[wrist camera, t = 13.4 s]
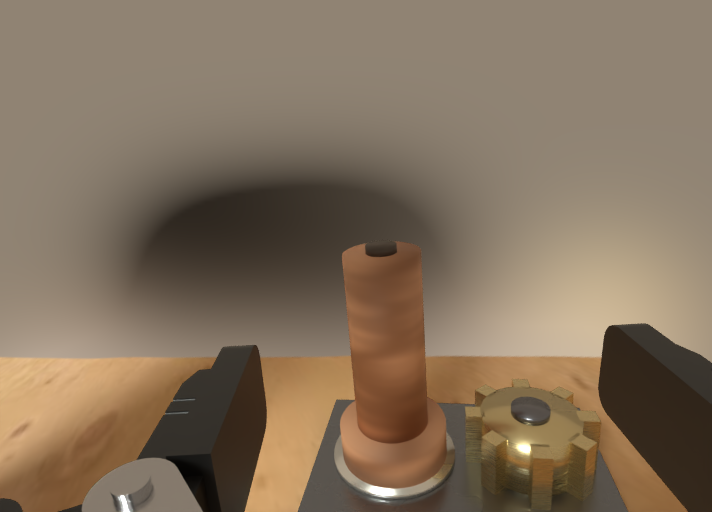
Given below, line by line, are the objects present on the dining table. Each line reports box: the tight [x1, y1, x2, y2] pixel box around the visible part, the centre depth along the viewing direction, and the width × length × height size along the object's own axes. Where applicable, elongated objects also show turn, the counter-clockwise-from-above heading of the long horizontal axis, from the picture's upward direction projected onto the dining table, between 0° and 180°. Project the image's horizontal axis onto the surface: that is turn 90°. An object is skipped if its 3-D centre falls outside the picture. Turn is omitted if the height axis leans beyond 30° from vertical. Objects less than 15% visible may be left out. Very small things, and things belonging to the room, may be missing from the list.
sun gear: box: [465, 379, 601, 510], centre depth 26 cm, size 7×7×3 cm
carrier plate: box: [298, 400, 628, 512], centre depth 27 cm, size 16×10×1 cm, turn 80°
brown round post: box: [340, 240, 447, 489], centre depth 25 cm, size 6×6×12 cm
